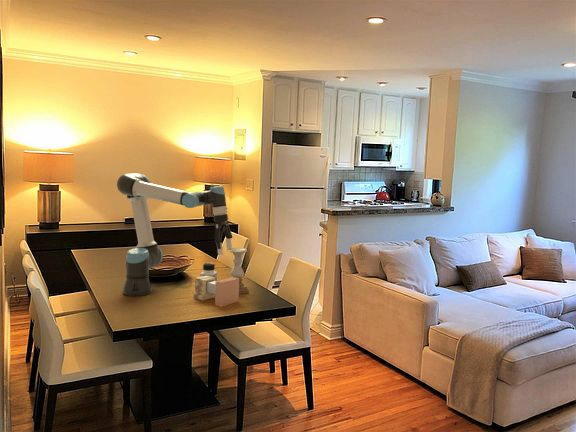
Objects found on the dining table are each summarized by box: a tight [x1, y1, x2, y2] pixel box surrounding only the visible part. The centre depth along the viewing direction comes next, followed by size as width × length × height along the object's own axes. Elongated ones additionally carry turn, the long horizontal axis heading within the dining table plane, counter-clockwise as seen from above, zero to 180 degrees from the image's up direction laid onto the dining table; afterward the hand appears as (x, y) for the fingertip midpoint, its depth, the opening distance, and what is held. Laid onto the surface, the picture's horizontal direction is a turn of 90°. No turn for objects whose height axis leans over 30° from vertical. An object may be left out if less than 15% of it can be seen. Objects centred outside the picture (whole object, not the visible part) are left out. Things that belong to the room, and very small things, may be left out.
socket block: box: [214, 276, 240, 308], centre depth 253 cm, size 4×13×12 cm, turn 144°
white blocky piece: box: [193, 276, 215, 301], centre depth 263 cm, size 7×10×11 cm
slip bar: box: [206, 280, 216, 294], centre depth 260 cm, size 15×5×5 cm, turn 54°
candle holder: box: [228, 247, 250, 295], centre depth 275 cm, size 11×11×24 cm
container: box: [199, 262, 218, 281], centre depth 287 cm, size 8×8×13 cm
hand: (225, 252), depth 271 cm, fingers open, 13 cm apart
